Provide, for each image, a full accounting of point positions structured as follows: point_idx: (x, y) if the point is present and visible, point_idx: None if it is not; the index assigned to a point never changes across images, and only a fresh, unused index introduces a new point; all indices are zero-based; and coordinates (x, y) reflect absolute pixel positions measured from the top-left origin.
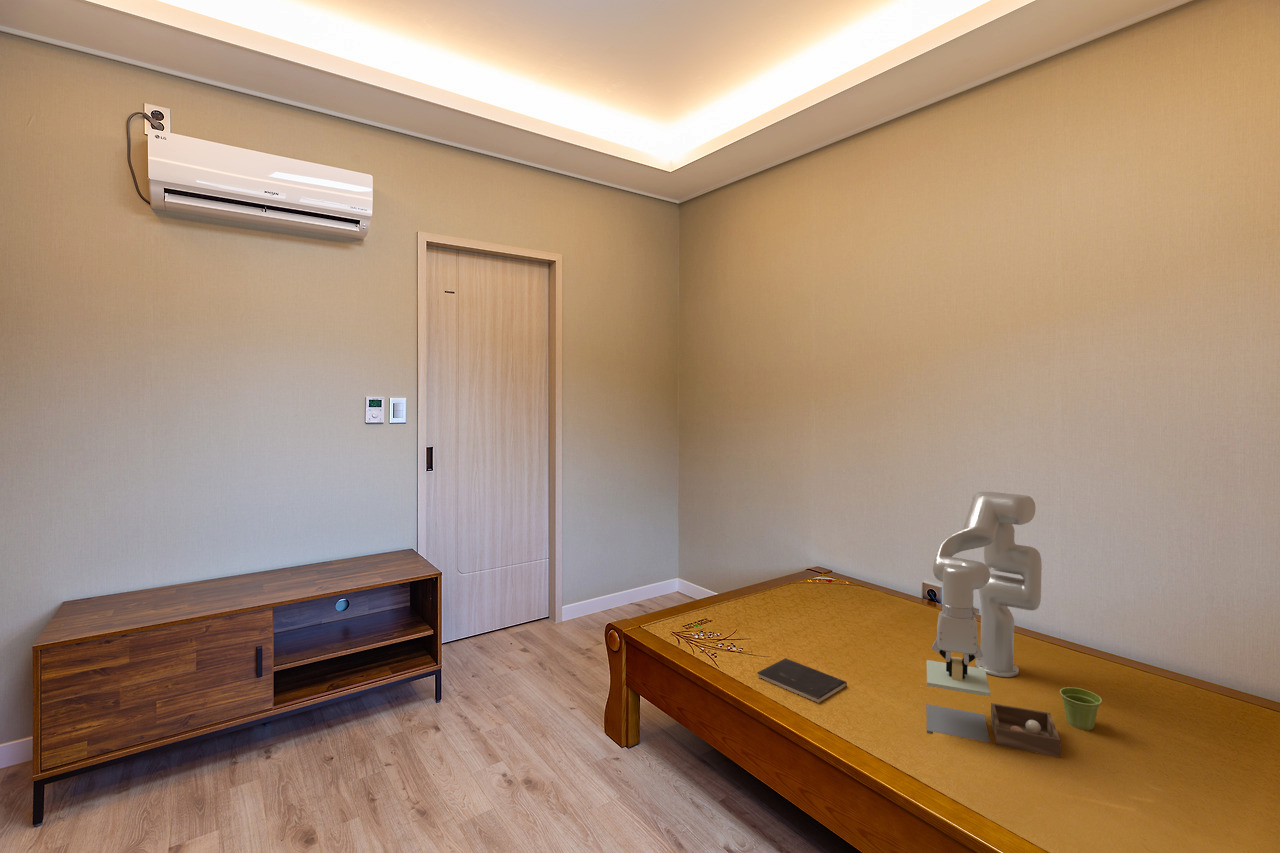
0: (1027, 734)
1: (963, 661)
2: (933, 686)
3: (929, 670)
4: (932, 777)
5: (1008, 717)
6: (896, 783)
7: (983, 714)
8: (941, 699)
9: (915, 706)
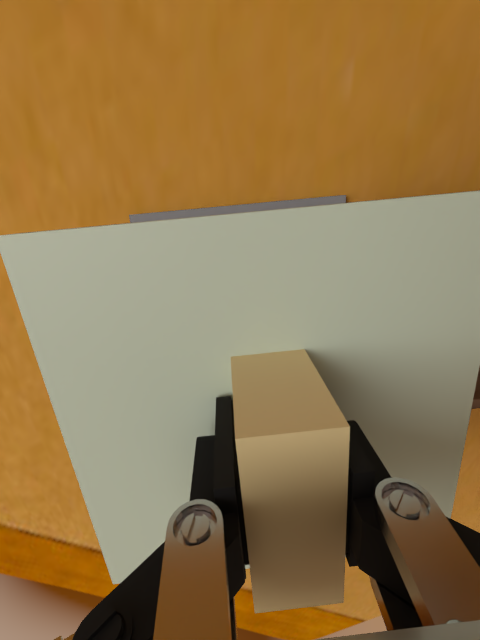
0: (473, 408)
1: (368, 567)
2: None
3: (82, 436)
4: None
5: None
6: None
7: (343, 198)
8: (178, 111)
9: None
